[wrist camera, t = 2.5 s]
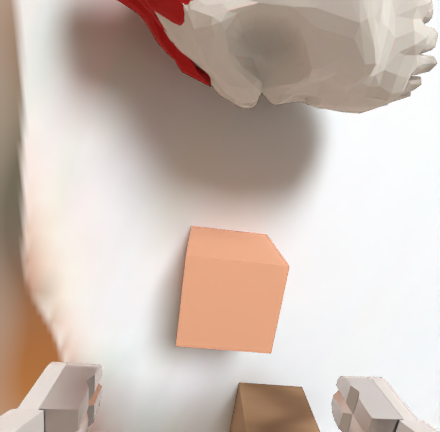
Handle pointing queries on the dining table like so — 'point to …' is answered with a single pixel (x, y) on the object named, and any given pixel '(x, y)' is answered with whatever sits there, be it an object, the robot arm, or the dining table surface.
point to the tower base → (272, 409)
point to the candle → (298, 48)
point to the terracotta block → (231, 291)
